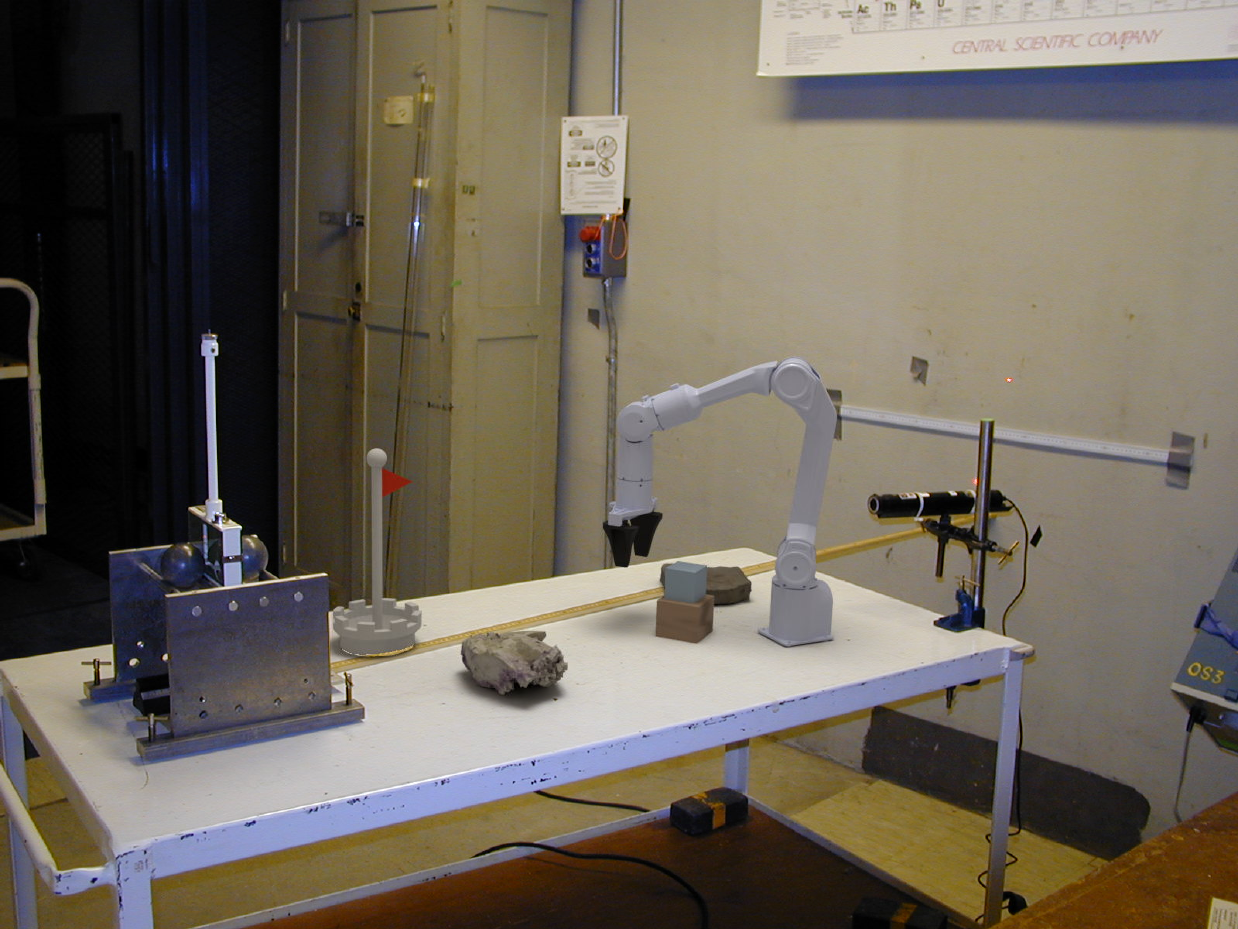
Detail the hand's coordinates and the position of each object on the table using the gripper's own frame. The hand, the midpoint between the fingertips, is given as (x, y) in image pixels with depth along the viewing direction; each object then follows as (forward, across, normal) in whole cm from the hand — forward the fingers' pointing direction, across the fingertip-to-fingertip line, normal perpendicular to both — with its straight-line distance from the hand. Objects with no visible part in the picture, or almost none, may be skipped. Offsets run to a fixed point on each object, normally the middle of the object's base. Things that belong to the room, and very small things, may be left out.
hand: (631, 561), depth 191 cm
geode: (+11, +32, -2) cm, 34 cm away
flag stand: (+11, +29, -28) cm, 42 cm away
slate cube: (+5, 0, +9) cm, 10 cm away
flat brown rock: (+11, -23, +4) cm, 26 cm away
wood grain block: (+11, 0, +10) cm, 14 cm away
